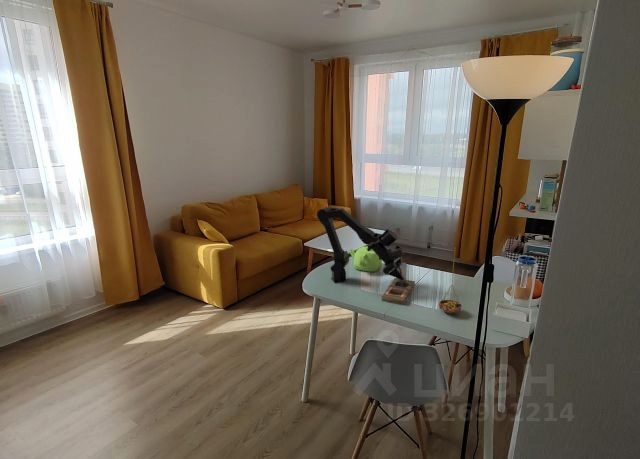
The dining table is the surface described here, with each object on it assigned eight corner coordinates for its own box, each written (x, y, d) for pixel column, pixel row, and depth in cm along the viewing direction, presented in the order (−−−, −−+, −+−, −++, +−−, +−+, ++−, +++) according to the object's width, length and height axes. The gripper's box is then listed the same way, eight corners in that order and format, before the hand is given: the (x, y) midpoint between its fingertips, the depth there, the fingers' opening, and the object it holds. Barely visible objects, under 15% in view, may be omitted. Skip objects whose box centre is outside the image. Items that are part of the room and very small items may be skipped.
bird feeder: (462, 318, 140) (469, 248, 132) (439, 316, 142) (445, 247, 134) (458, 308, 148) (464, 241, 140) (437, 306, 150) (442, 241, 142)
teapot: (342, 271, 191) (342, 249, 188) (355, 260, 208) (356, 239, 205) (374, 276, 183) (374, 253, 180) (385, 264, 200) (385, 243, 197)
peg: (399, 291, 165) (401, 266, 162) (395, 287, 169) (396, 263, 165) (407, 290, 166) (408, 265, 163) (402, 286, 170) (404, 262, 167)
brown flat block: (403, 305, 152) (403, 299, 151) (381, 300, 156) (381, 295, 155) (414, 286, 171) (414, 281, 170) (394, 282, 175) (394, 277, 174)
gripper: (390, 247, 155) (414, 273, 153) (397, 236, 171) (419, 259, 170) (373, 262, 160) (396, 287, 158) (381, 249, 176) (402, 272, 175)
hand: (404, 275), depth 165 cm, fingers open, 9 cm apart
